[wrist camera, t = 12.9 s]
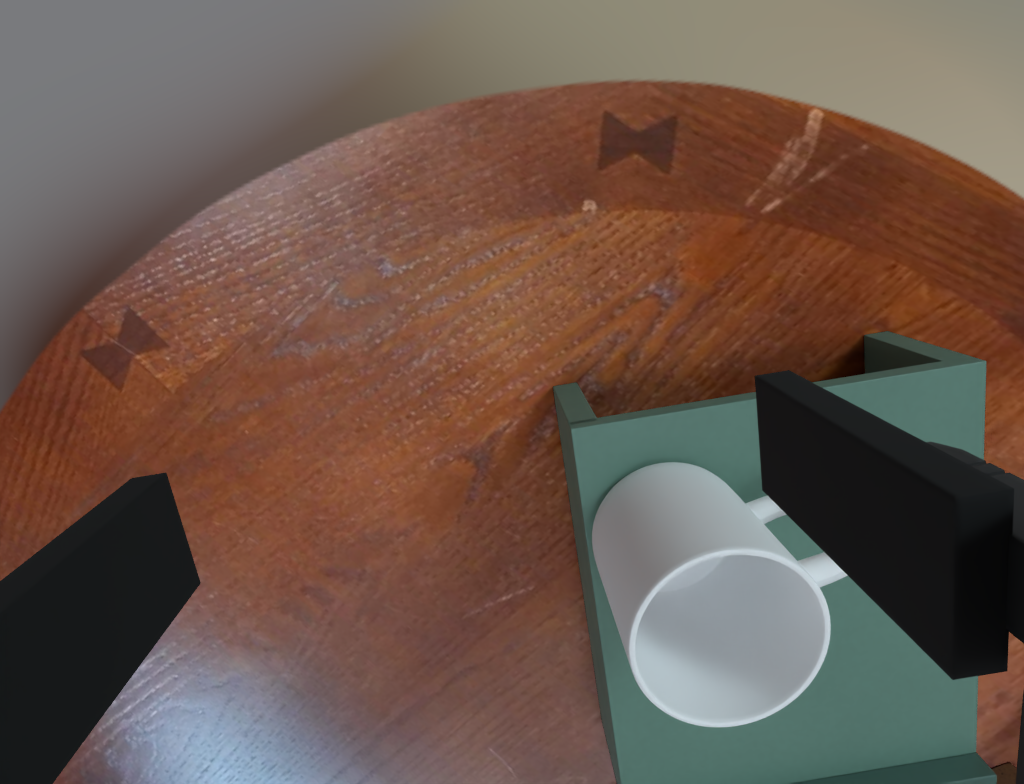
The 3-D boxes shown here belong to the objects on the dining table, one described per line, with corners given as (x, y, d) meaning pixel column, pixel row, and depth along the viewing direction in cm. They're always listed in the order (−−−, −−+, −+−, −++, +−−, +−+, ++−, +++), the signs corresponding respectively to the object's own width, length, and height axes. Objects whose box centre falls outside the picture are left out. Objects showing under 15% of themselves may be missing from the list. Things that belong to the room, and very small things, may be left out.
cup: (564, 497, 37) (596, 601, 27) (773, 402, 36) (884, 475, 26) (624, 619, 39) (673, 757, 29) (823, 532, 38) (942, 644, 28)
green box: (552, 385, 45) (575, 440, 34) (887, 330, 45) (1012, 368, 34) (601, 719, 51) (632, 849, 41) (892, 670, 52) (997, 788, 41)
